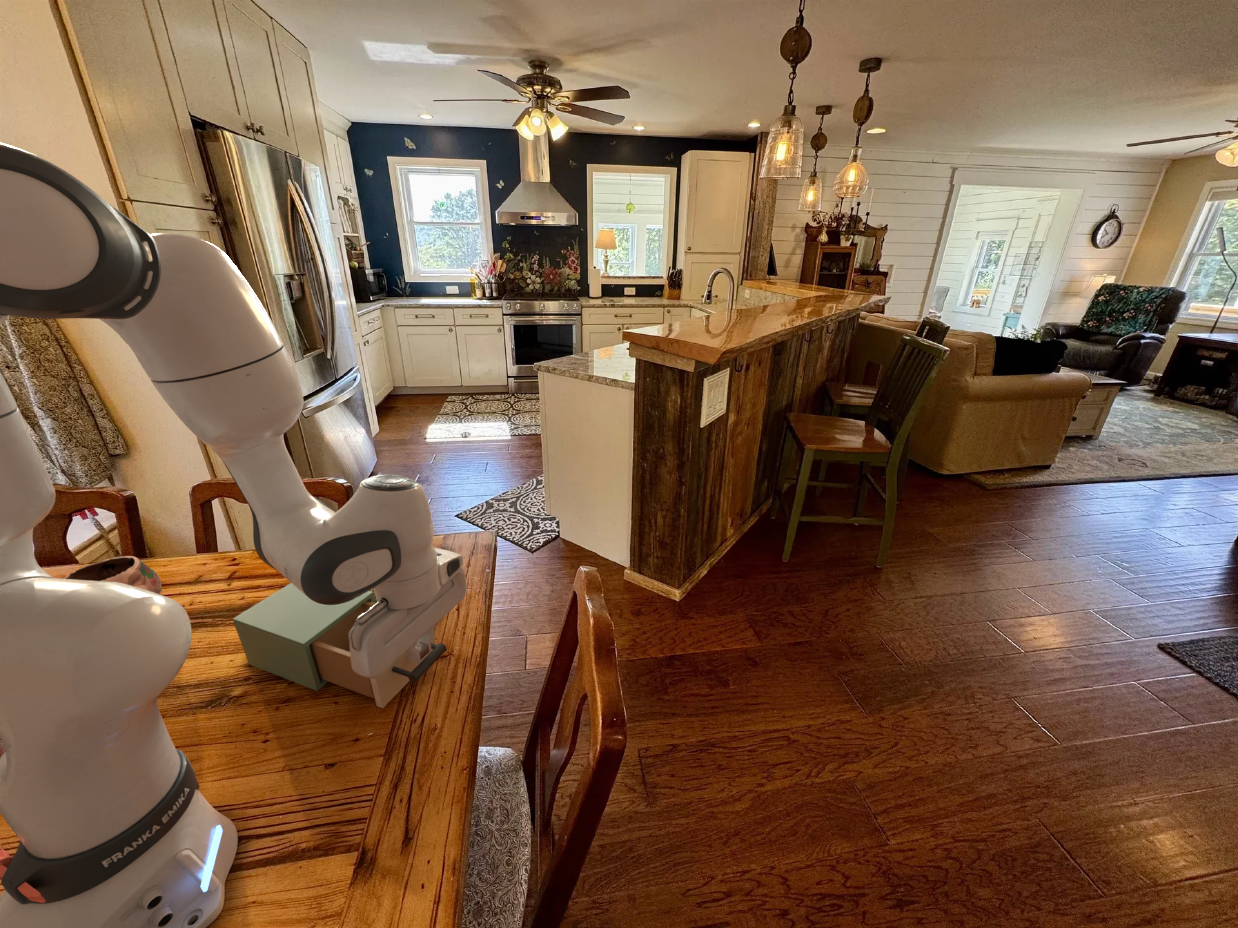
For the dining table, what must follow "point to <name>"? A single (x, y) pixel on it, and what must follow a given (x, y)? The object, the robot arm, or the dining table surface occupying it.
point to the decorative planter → (120, 573)
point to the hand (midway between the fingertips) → (420, 655)
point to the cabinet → (290, 632)
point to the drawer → (337, 669)
